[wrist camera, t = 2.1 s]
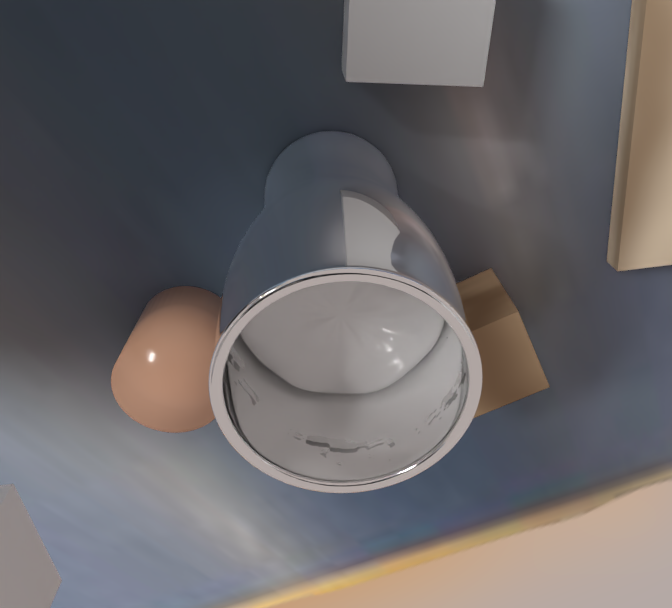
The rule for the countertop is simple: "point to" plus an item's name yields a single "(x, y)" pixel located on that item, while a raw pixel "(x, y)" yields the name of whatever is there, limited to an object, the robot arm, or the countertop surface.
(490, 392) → the oak cube
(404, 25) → the grey plastic box
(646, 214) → the beech board
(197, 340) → the peach rounded capsule
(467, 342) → the silver metal cup
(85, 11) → the countertop surface
